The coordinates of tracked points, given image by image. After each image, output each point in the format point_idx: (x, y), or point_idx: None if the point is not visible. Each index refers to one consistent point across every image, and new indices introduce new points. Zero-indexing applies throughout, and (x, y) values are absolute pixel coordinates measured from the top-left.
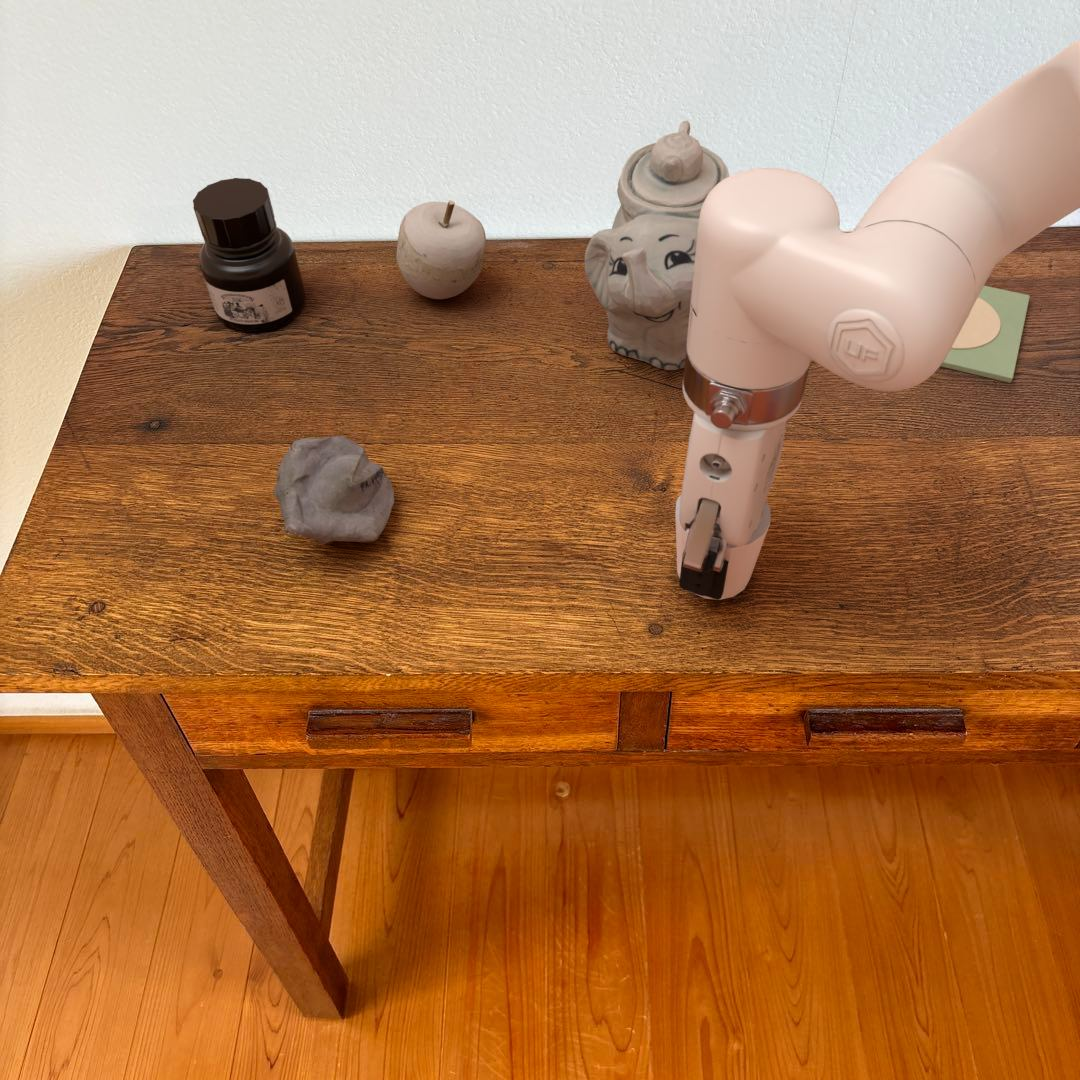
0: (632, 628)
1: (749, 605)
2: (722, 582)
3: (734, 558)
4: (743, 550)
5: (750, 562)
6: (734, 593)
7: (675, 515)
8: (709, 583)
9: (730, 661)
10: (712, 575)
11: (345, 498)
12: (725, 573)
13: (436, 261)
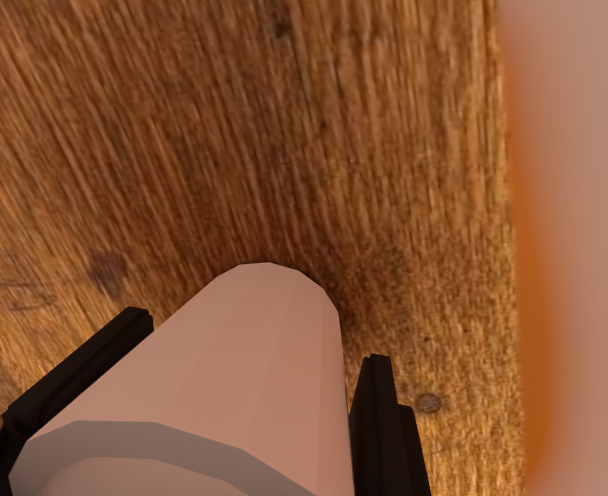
0: (432, 433)
1: (335, 254)
2: (399, 415)
3: (339, 442)
4: (327, 465)
5: (292, 340)
6: (322, 294)
7: None
8: (421, 455)
9: (496, 278)
10: (417, 481)
11: None
12: (405, 456)
13: None
